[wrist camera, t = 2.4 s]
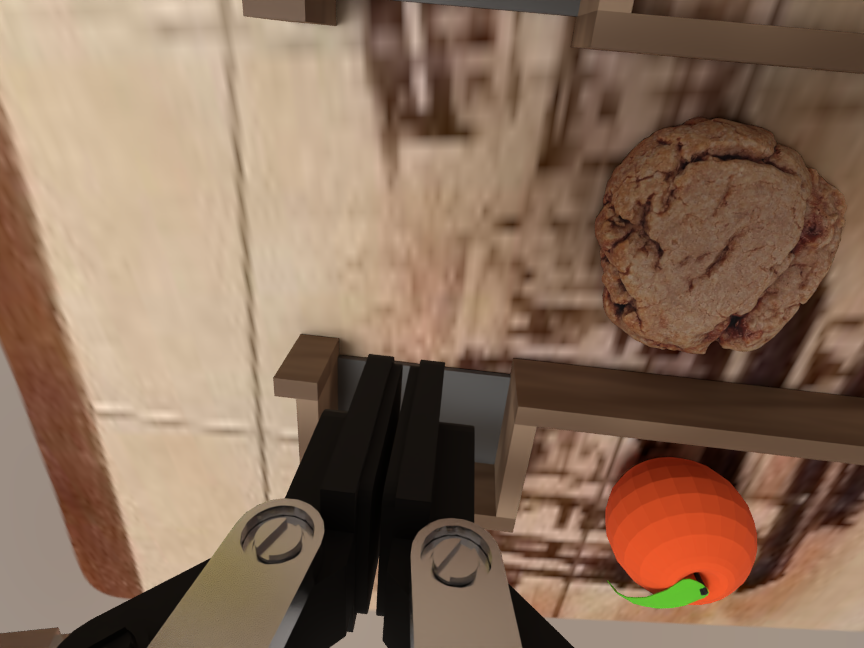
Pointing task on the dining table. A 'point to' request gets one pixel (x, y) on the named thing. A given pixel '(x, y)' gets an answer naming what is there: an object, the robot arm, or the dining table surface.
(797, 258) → the cookie
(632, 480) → the clementine
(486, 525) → the channel
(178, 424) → the dining table surface
